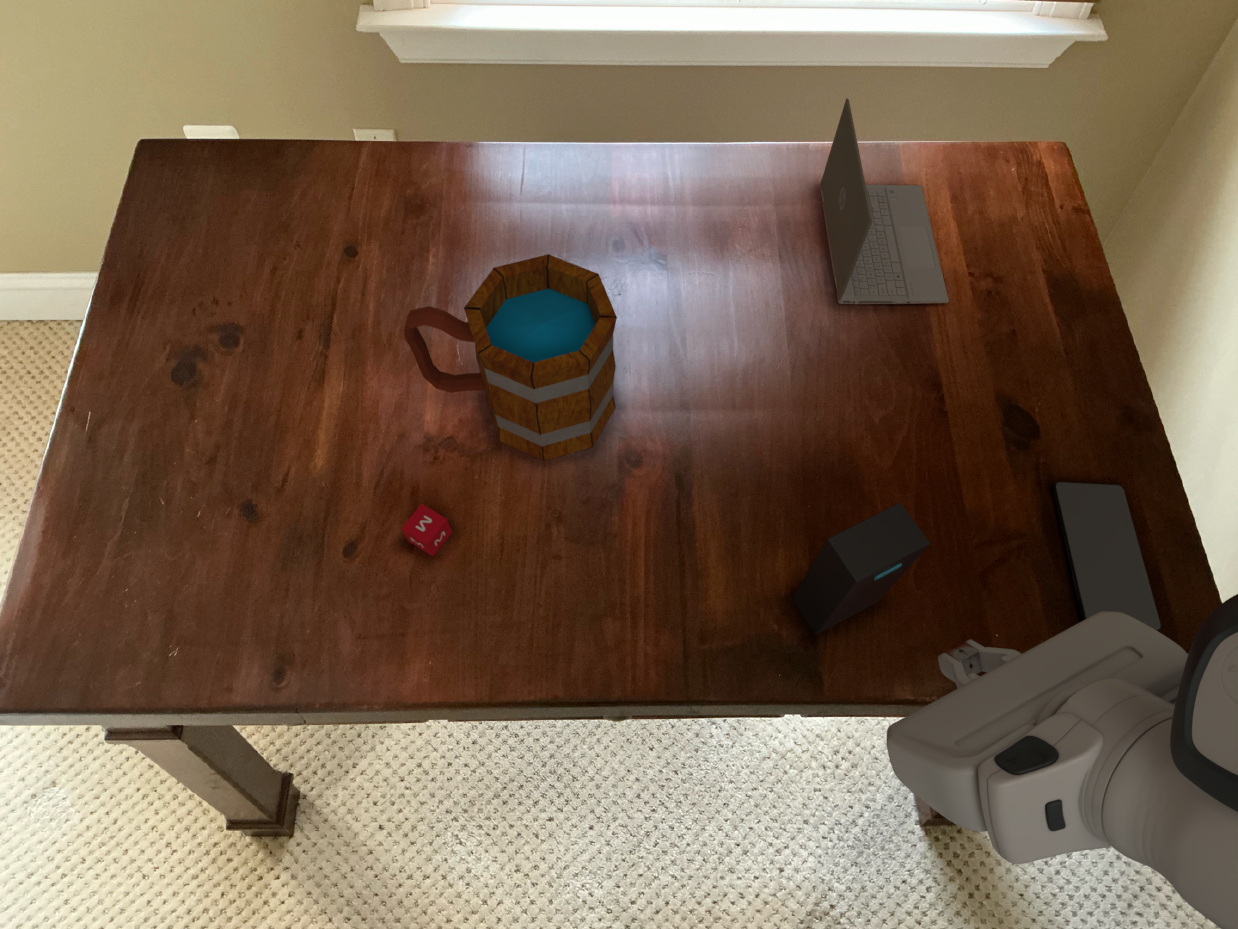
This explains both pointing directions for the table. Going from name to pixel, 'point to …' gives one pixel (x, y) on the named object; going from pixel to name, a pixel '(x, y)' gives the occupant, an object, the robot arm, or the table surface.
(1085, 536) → the smartphone
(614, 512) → the table surface
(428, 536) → the dice
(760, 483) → the table surface
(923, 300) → the laptop
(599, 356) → the mug
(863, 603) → the black power bank
